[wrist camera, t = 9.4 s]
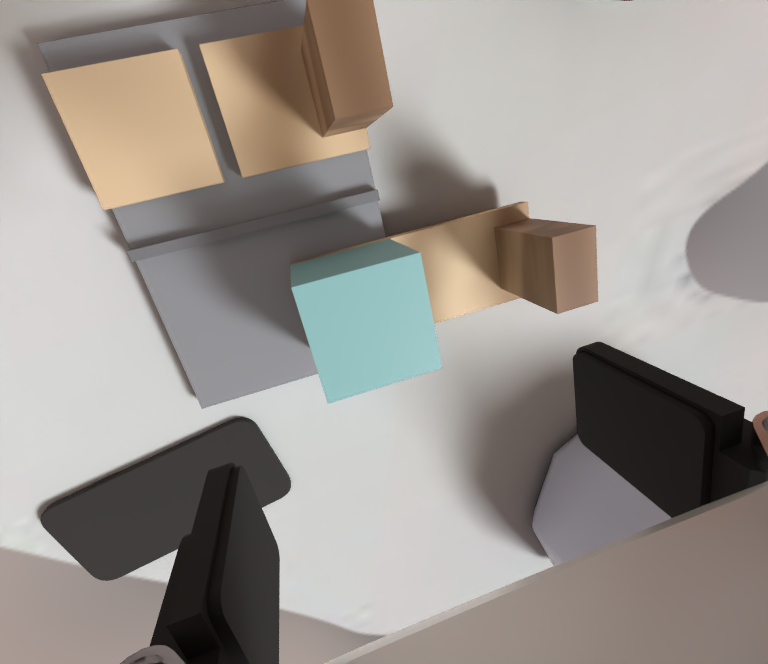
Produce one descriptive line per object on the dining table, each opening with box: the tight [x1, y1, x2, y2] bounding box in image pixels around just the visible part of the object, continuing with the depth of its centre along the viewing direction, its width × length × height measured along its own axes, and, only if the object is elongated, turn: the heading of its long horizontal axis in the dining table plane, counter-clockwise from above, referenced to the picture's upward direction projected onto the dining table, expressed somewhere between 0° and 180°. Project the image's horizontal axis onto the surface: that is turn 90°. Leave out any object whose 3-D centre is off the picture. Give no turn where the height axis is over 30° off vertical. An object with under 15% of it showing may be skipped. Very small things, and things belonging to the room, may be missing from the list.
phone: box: [41, 418, 291, 581], centre depth 29 cm, size 7×1×15 cm
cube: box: [290, 239, 442, 404], centre depth 22 cm, size 6×6×6 cm
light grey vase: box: [532, 433, 671, 566], centre depth 30 cm, size 20×20×19 cm
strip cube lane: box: [290, 202, 598, 323], centre depth 23 cm, size 15×6×7 cm, turn 103°
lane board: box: [37, 0, 386, 409], centre depth 23 cm, size 14×20×2 cm
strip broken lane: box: [199, 0, 393, 178], centre depth 18 cm, size 7×6×7 cm
